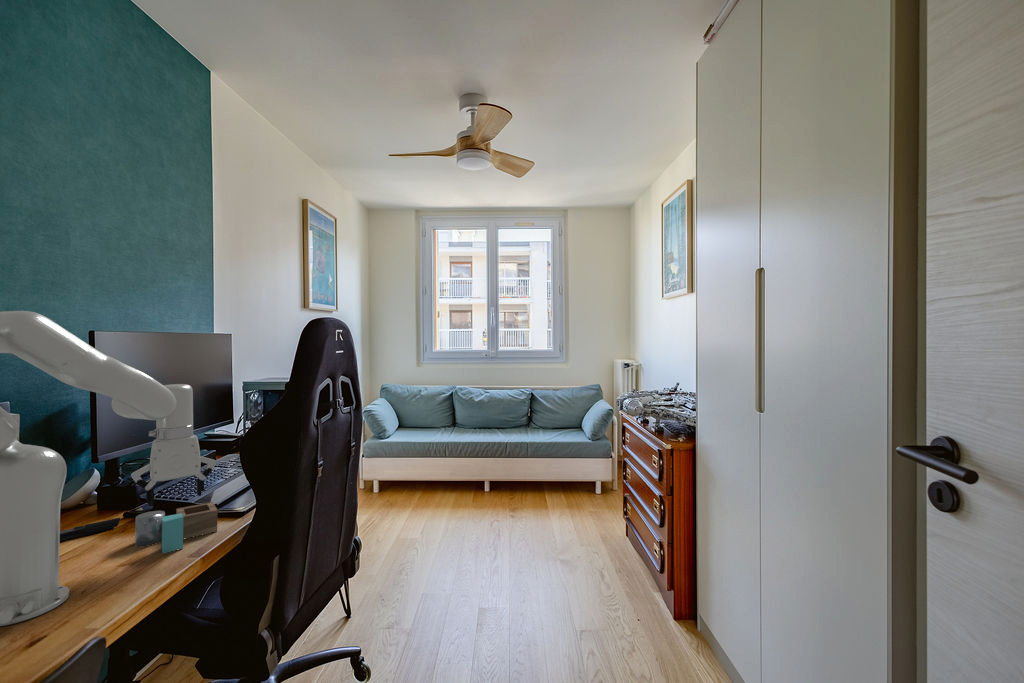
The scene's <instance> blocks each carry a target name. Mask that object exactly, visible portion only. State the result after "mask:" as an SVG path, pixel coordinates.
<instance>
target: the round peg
mask: <svg viewBox="0 0 1024 683" xmlns="http://www.w3.org/2000/svg"><path fill="white" fill-rule="evenodd" d="M165 516H166V511H165V510H154V511H153V510H152V511H147V512H144V513H140V514H138V515H136V516H135V526H134V527H135V529H134V531H135V532H134V536H135V537H134V546H135V545H136V546H135V547H138V546H145V547H148V546H147V545H150V546H153V545H152V544H154V545H156V544H155V543H157V544H159V543H158V542H160V541H162V517H165ZM160 543H161V542H160Z"/></svg>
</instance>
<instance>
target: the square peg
mask: <svg viewBox="0 0 1024 683" xmlns="http://www.w3.org/2000/svg"><path fill="white" fill-rule="evenodd" d="M183 547H184V539H183V515H182V513H180V514H176V513H175V514H170V515H165V517H162V542H161V553H162V552H163V553H165V554H168V553H167V552H169V553H171V552H170V551H173V552H175V551H174V550H177V549H182V548H183ZM183 549H184V548H183ZM183 549H182V550H183ZM163 553H162V554H163Z"/></svg>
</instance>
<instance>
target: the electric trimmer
mask: <svg viewBox="0 0 1024 683" xmlns="http://www.w3.org/2000/svg"><path fill="white" fill-rule="evenodd" d="M120 521H121V517H115V518H110V519H107V520H102V521H97V522H92V523H87V524H84V525H78V526H74V528H73V527H72V528H68V529H64V530H60V542H62V541H65V540H70V539H74V538H78V537H81V536H90V535H94V534H97V533H100V532H103V531H106V530H110V529H113V528H116V527H117V526H119V524H120Z"/></svg>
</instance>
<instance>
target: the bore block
mask: <svg viewBox="0 0 1024 683" xmlns="http://www.w3.org/2000/svg"><path fill="white" fill-rule="evenodd" d="M175 510H176V511H175V514H180V513H182V515H183V540H185V539H184V538H188V539H190V538H189V537H192V538H194V537H193V536H196V537H199V536H198V535H201V536H203V535H202V534H205V535H208V533H209V534H213V533H212V532H214V533H217V532H218V512H219V511H218V508H217V507H216V505H215V503H214V501H210V502H205V503H199V504H196V505H190V506H184V507H178V508H176V509H175ZM216 531H217V532H216Z"/></svg>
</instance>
